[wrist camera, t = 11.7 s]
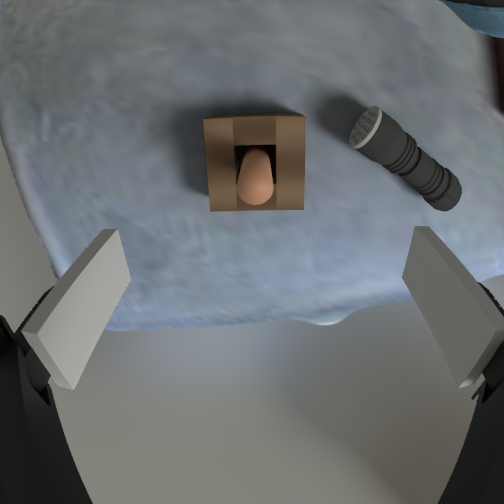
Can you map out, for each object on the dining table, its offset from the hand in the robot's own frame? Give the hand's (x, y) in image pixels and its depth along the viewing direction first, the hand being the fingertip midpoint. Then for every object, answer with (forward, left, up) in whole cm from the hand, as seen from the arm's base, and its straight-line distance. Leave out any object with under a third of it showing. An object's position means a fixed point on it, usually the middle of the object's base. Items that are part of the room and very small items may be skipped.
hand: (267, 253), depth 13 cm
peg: (+1, -1, -23) cm, 23 cm away
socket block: (+1, -1, -23) cm, 23 cm away
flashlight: (0, +17, -24) cm, 29 cm away
